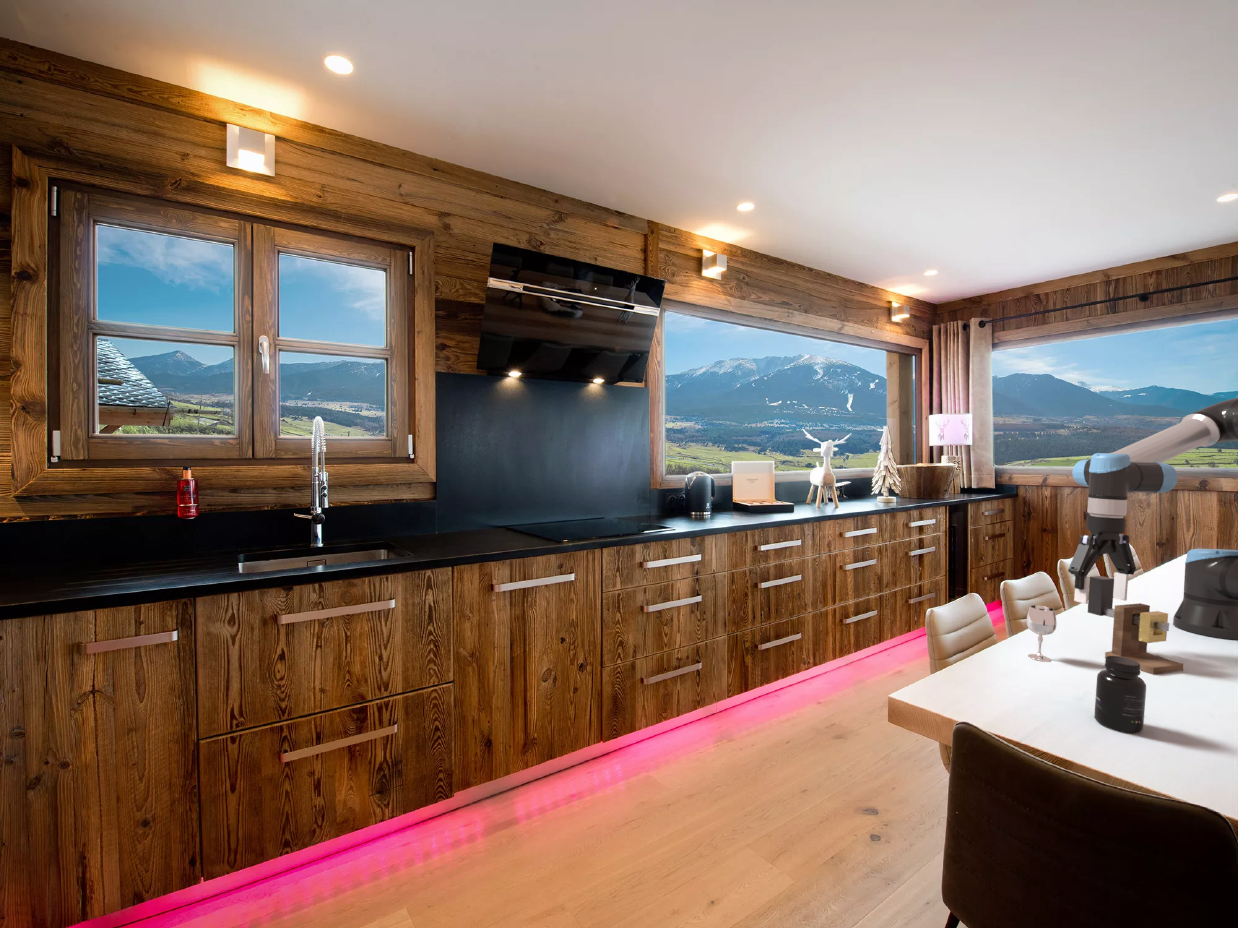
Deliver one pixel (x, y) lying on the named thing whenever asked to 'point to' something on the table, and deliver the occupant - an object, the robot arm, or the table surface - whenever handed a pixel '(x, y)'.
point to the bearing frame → (1136, 642)
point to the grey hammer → (1110, 601)
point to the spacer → (1152, 627)
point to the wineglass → (1041, 626)
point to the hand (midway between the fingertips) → (1100, 600)
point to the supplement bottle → (1120, 695)
